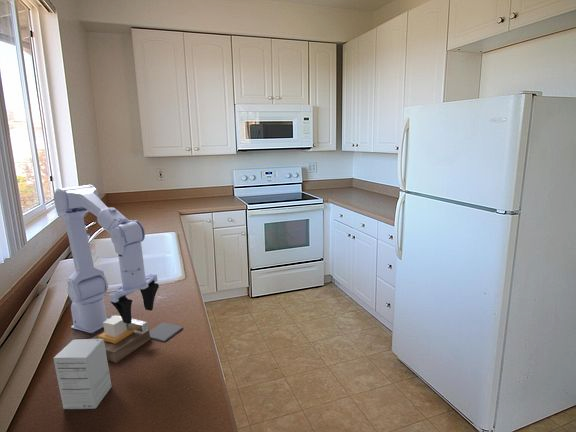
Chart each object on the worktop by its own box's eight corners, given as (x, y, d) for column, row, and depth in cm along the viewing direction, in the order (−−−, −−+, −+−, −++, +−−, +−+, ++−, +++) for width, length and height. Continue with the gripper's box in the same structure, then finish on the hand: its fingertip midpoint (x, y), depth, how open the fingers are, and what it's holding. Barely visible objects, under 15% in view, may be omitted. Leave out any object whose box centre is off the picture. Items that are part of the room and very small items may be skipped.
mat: (143, 336, 107) (143, 335, 107) (162, 323, 114) (162, 322, 114) (164, 342, 104) (164, 340, 104) (183, 328, 111) (182, 326, 111)
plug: (100, 350, 101) (96, 323, 99) (119, 338, 107) (115, 313, 105) (117, 354, 99) (113, 327, 97) (135, 342, 104) (132, 316, 103)
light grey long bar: (108, 328, 106) (106, 317, 106) (114, 324, 108) (112, 314, 107) (143, 336, 101) (141, 325, 100) (148, 332, 103) (147, 321, 102)
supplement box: (81, 387, 86) (73, 338, 83) (112, 386, 86) (105, 337, 83) (61, 410, 79) (51, 357, 76) (95, 409, 78) (86, 357, 76)
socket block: (84, 353, 100) (82, 343, 99) (120, 331, 110) (118, 322, 110) (116, 362, 95) (114, 352, 94) (150, 339, 106) (149, 329, 105)
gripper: (121, 280, 87) (128, 331, 90) (163, 260, 100) (168, 306, 103) (100, 276, 90) (107, 326, 93) (144, 258, 103) (149, 302, 106)
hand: (138, 315), depth 98 cm, fingers open, 7 cm apart
